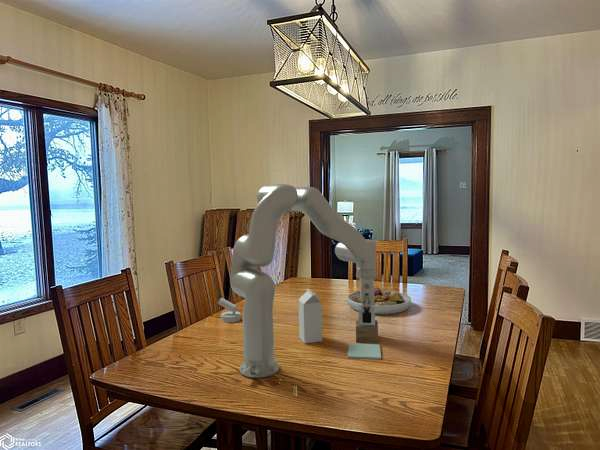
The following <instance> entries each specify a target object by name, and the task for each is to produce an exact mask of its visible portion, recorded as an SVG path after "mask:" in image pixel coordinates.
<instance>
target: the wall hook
mask: <svg viewBox="0 0 600 450" xmlns="http://www.w3.org/2000/svg"><path fill="white" fill-rule="evenodd" d="M217 304H218V305H220V306H222V307H223V308H225V309H227V310H229V311H225V312H222V313H221V314H220V321H221V322H223V323H227V324H228V323H229V324H230V323H237V322H240V321H241V320H242V316H241V314H242V313H241V312H239V311H238V309H239V308H238V306H237V305H235V304H234V303H232V302H230V301H229V300H227V299H225V298H224V297H221V298H219V300H218V301H217Z"/></svg>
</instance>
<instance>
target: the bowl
mask: <svg viewBox="0 0 600 450" xmlns="http://www.w3.org/2000/svg"><path fill="white" fill-rule="evenodd" d="M346 301H347V304H348V306H349V307H350V308H351V309H353V310H354V311H357V312H359V305H362V304H361V298H360V290H359V291H354V292H352V293H349V294H348V295H347V296H346ZM411 303H412V298H411V296H409V295H408V294H406V293H403V292H399V291H395V290H388V289H387V290H386V289H385V290H384V289H381V288H379V287H378V286H377V287H374V305H373V304H371V303H370V304H371V305H373V306H375V315H384V316H385V315H394V314H400V313H402V312H405V311H406V310H407V309H409V307H410V306H411Z"/></svg>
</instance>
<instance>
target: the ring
mask: <svg viewBox="0 0 600 450" xmlns="http://www.w3.org/2000/svg"><path fill="white" fill-rule="evenodd" d="M364 307H365V306H364ZM370 307H371V323H363V322H362V312H363V305H359V311H358V320H359V326H375V320H376V314H375V306H373V305H370ZM364 312H365V310H364Z"/></svg>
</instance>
